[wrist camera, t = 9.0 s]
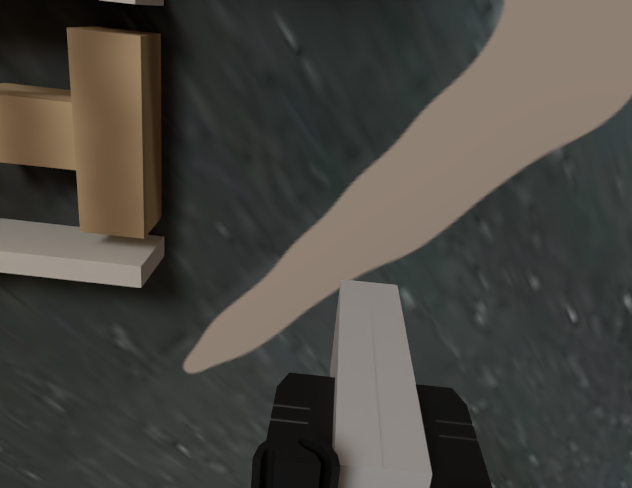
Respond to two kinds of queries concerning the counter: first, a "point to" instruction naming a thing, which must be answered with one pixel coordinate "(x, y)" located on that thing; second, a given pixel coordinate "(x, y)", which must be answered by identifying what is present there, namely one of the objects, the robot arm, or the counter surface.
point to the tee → (97, 128)
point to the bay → (79, 246)
